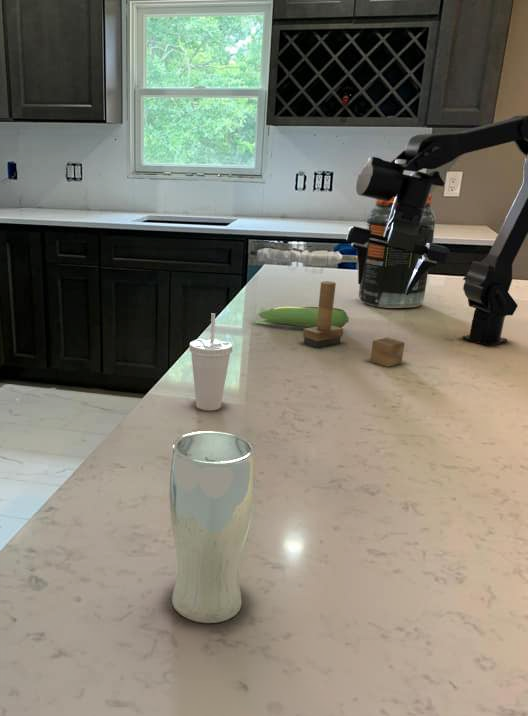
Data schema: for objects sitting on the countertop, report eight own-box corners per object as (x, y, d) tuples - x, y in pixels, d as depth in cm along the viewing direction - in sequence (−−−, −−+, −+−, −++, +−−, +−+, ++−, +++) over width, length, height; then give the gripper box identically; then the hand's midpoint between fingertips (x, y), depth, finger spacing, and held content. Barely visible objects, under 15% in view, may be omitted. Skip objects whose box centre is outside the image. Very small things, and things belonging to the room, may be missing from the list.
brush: (326, 338, 148) (333, 279, 144) (341, 343, 146) (348, 282, 141) (302, 343, 145) (307, 282, 140) (316, 348, 142) (323, 286, 137)
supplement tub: (430, 301, 184) (447, 193, 173) (412, 313, 172) (430, 197, 161) (368, 294, 191) (381, 189, 181) (348, 304, 179) (361, 193, 169)
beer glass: (164, 581, 67) (166, 430, 61) (238, 579, 68) (248, 429, 62) (170, 628, 61) (174, 465, 55) (253, 625, 61) (265, 463, 55)
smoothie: (234, 402, 112) (239, 311, 107) (223, 416, 107) (228, 321, 101) (194, 396, 114) (197, 308, 109) (181, 410, 109) (184, 317, 103)
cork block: (383, 358, 136) (386, 337, 135) (401, 363, 133) (404, 342, 132) (369, 361, 134) (372, 340, 132) (387, 367, 131) (390, 345, 129)
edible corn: (346, 334, 152) (348, 312, 150) (251, 326, 157) (252, 305, 155) (347, 328, 156) (350, 307, 155) (255, 321, 161) (256, 300, 160)
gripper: (361, 195, 129) (336, 282, 135) (467, 219, 127) (436, 306, 133) (358, 195, 140) (335, 276, 145) (456, 217, 138) (428, 298, 143)
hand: (382, 289), depth 141 cm, fingers open, 9 cm apart
